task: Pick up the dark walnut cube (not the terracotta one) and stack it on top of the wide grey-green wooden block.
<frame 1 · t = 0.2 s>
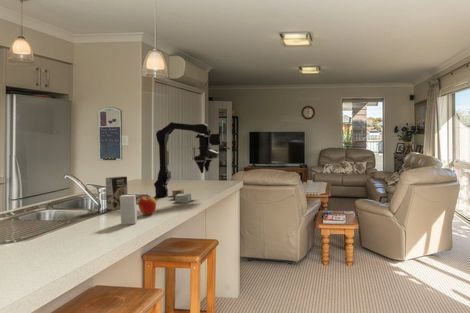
hand: (204, 172, 265), 14 cm above the counter, tool pointing down, fingers open, 9 cm apart
coffee box: (117, 208, 233), on the counter
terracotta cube: (175, 196, 272), on the counter
skincare box: (129, 224, 192), on the counter
base block: (183, 201, 249), on the counter
walnut cube: (178, 198, 261), on the counter
apple: (148, 215, 211), on the counter
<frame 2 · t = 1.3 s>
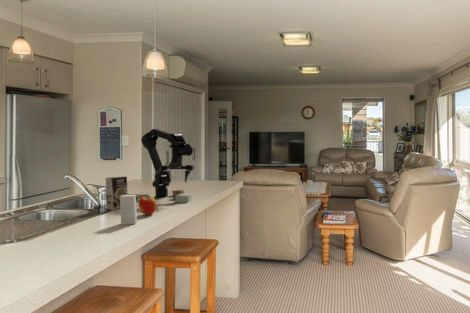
hand: (177, 182, 260), 9 cm above the counter, tool pointing down, fingers open, 9 cm apart
nothing on the counter moved.
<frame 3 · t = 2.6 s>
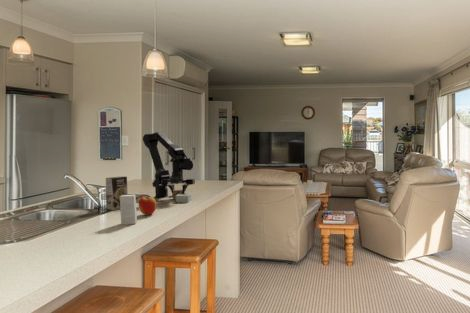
hand: (178, 196, 260), 1 cm above the counter, tool pointing down, fingers closed on walnut cube, 5 cm apart
walnut cube: (178, 198, 260), on the counter, touching gripper
everything else where it was.
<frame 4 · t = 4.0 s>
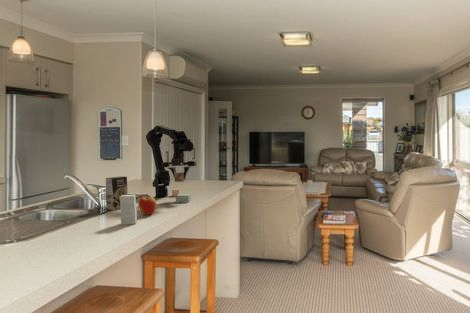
hand: (180, 179, 255), 11 cm above the counter, tool pointing down, fingers closed on walnut cube, 5 cm apart
walnut cube: (180, 181, 255), point 10 cm above the counter, touching gripper
everything else where it was.
when the fingers open (6 cm above the counter, at t = 5.7 s): walnut cube drops 1 cm, point 4 cm above the counter.
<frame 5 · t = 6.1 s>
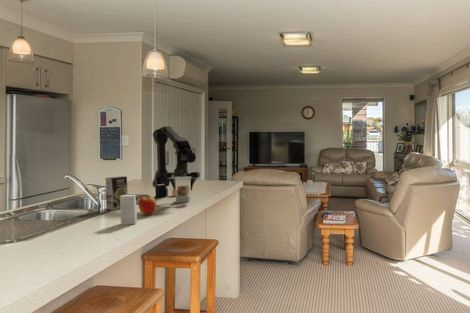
hand: (183, 190, 248), 6 cm above the counter, tool pointing down, fingers open, 9 cm apart
walnut cube: (183, 194, 249), point 4 cm above the counter
everything else where it was.
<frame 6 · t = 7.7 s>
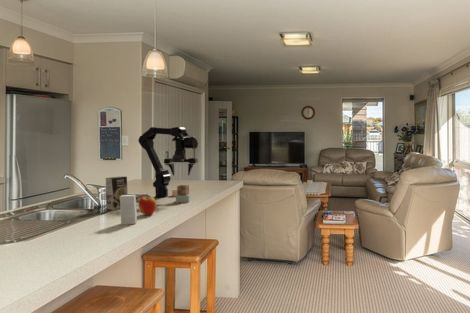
hand: (181, 175, 263), 13 cm above the counter, tool pointing down, fingers open, 9 cm apart
base block: (183, 202, 249), on the counter, touching walnut cube
walnut cube: (183, 194, 248), point 4 cm above the counter, touching base block
everything else where it was.
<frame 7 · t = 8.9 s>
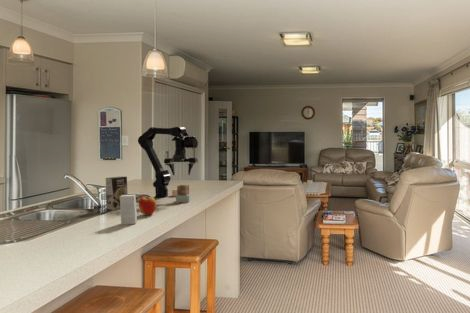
hand: (181, 175, 264), 13 cm above the counter, tool pointing down, fingers open, 9 cm apart
base block: (183, 201, 249), on the counter
walnut cube: (183, 194, 248), point 4 cm above the counter
everything else where it was.
at the end: walnut cube 0.3 cm off-centre on the base block, point 4.0 cm above the base block's base; walnut cube tilted 0°; the gripper is holding nothing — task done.
